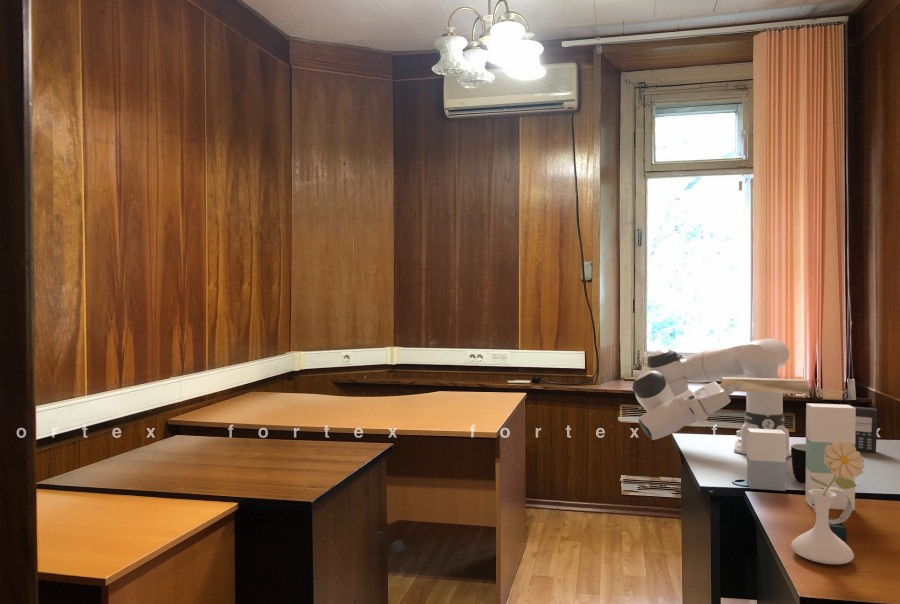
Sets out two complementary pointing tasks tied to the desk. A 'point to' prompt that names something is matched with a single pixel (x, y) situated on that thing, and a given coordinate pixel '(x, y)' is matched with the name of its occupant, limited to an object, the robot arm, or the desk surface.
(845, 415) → the tower
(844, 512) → the watch
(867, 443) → the card reader
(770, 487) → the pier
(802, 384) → the batten
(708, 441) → the desk surface
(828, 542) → the flower in vase
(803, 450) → the mug
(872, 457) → the desk surface
